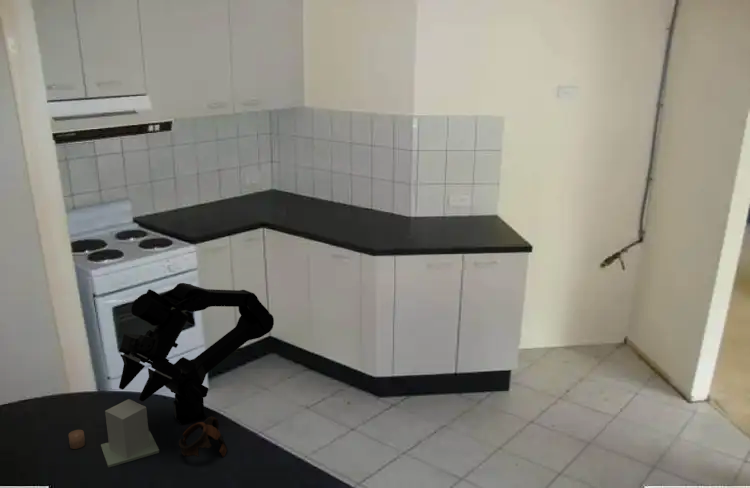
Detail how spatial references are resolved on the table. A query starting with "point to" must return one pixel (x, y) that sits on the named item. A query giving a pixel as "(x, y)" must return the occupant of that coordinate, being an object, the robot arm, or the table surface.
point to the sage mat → (117, 459)
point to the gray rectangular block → (127, 428)
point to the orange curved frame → (203, 437)
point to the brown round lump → (76, 439)
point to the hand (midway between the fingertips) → (130, 394)
